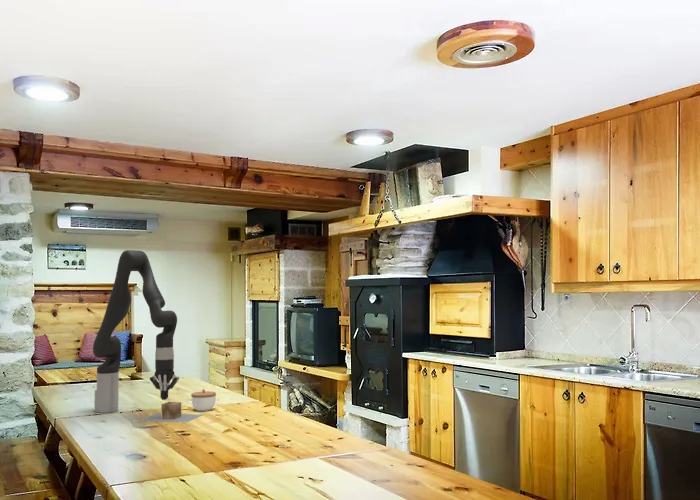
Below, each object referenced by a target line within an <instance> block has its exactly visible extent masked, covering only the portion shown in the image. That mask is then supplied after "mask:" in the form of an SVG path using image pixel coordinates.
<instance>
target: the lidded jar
mask: <svg viewBox="0 0 700 500" xmlns="http://www.w3.org/2000/svg"><path fill="white" fill-rule="evenodd" d="M190 395H191V405H192V407H193V408H194V409H195V410H196V411H197V412H208V411H211V410H212V409H213V408H214V407H215V404H216V396H217V393H216V392H215V391H211V390H210V391H206V389H205V388H203V389H202V391H196V392H192V393H191V394H190Z"/></svg>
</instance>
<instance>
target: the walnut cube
mask: <svg viewBox="0 0 700 500" xmlns="http://www.w3.org/2000/svg"><path fill="white" fill-rule="evenodd" d="M160 410H161V411H160V414H161V419H177V418H179V417H181V414H182V402H181V401H167V402H164V403H161V409H160Z"/></svg>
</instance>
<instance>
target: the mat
mask: <svg viewBox="0 0 700 500" xmlns="http://www.w3.org/2000/svg"><path fill="white" fill-rule="evenodd" d="M202 416H203V414H197V413H196V414H191V413H190V414H189V413H181V417H179V418H177V419H161V413H154V414H152V415H149V416H146V417H144V418H141V419H138V420H137V422H159V423H160V422H161V423H163V422H164V423H165V422H166V423H172V422H173V423H189V422H191V421H193V420H196V419H198V418H200V417H202Z"/></svg>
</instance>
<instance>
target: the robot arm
mask: <svg viewBox="0 0 700 500" xmlns="http://www.w3.org/2000/svg"><path fill="white" fill-rule="evenodd" d="M131 272H138V273H139V274H140V276H141V278H142V295H143V298H144V300H145V302H146V304H147V305H148V307H149V308H148V309H149V314H150V315H149V316H150V320H151V323H152V324H153V325H154V326H155V327H156V328H159V329H160V328H163V329H162V331H161V332H160V333H158V334H156V337H155V354H154V355H155V360H154V362H155V364H154V365H155V372H154V375H152V376H151V377H149V380H150V382H151V383H152V385H153V386H154V388H155V389H156V390H159V391H160V399H161V400H163V401H167V399H168V398H169V391H170V390H172V389H174V387H175V385H176V384H177V383H178V381H179V379H180V376H176V375H175V371H174V369H175V366H174V365H175V360H174V359H175V358H174V357H175V351H174V350H175V349H174V337H175V336H174V335H175V332H176V329H177V324H178V316H177V314H176V312H175V311H173V310H162V309H163V308H164V307H165V305H166V301H165V298H164V297H163V295H162V293H161V290H160V289H159V287H158V284H157V282H156V279H155V275H154V273H153V269H152V265H151V262H150V260H149V257H148V256H147V254H146V252H145V251H142V250H133V249H132V250H131V249H127V250H124V251H123V252H122V253H121V254H120V257H119V259H118V263H117V269H116V274H115V279H114V281H113V282H114V283H113V287H112V289H111V293H110V296H109V299H108V302H107V306H106V309H105V313H104V316H103V319H102V322H101V324H100V327H99V328H98V329H99V330H98V332H97V334H96V336H95V339H94V341H93V346H92V353H93V355H94V356H95V358H98V359H105V360H104V362H103V363H102V364H100V365H98V366H97V368H96V389H95V390H94V412H95V413H99V414H104V413H105V414H106V413H107V414H109V413H115V412H118V411H119V397H120V396H119V391H120V390H119V385H120V383H119V382H120V381H119V379H120V378H119V377H120V376H119V374H120V373H119V372H120V371H119V370H120V366H121V360H122V359H121V358H122V357H121V356H122V343H121V340H120V338H119V337H117V336H114V335H113V332H114V331H115V329H116V328H117V327H118V326H119V325H120V324H121V322H122V321H124V319H125V318H126V316H127V315H128V312H129V309H130V306H131V305H132V295H131V290H130V287H129V280H130V276H131ZM112 335H113V336H112Z"/></svg>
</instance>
